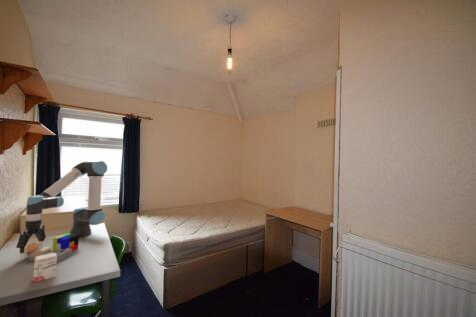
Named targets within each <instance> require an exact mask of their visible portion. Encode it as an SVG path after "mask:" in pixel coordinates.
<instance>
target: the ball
mask: <svg viewBox="0 0 476 317" xmlns="http://www.w3.org/2000/svg"><path fill="white" fill-rule="evenodd" d="M25 247H26V252H28V253H31V252H34V251H36V250H37V248H38V245H37V242H30V243H27V244H26V246H25Z"/></svg>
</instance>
